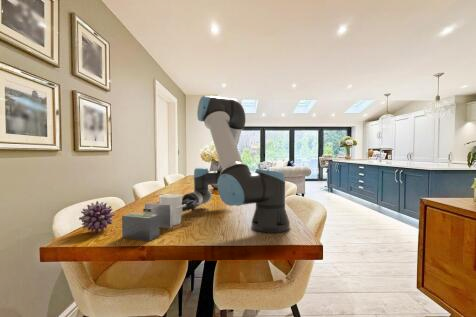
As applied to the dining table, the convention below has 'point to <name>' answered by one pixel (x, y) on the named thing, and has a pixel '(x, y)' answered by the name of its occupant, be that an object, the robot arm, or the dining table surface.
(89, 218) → the flower
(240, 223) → the dining table surface
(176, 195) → the white cream cup
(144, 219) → the box
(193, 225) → the dining table surface
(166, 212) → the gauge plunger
